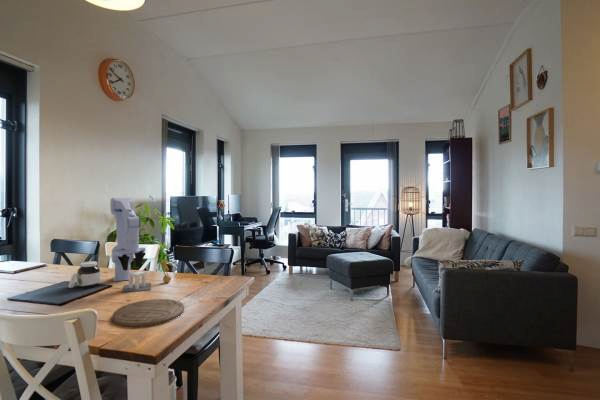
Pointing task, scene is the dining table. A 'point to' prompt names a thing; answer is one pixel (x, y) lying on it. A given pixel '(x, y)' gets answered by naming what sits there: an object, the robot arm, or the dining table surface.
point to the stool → (137, 279)
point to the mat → (127, 289)
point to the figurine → (166, 277)
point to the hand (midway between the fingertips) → (131, 268)
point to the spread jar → (86, 275)
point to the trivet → (148, 312)
